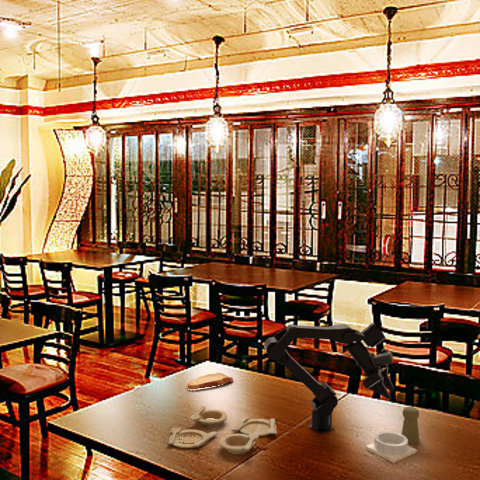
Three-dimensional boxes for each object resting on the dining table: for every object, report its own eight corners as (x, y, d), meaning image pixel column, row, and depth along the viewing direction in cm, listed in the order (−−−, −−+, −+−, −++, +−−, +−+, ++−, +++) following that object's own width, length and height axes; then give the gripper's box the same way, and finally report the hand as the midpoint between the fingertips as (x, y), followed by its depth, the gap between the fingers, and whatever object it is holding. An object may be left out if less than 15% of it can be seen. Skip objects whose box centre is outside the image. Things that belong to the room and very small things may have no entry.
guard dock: (393, 462, 169) (393, 449, 169) (365, 448, 178) (365, 436, 178) (416, 452, 176) (416, 440, 175) (388, 439, 184) (388, 428, 184)
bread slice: (184, 391, 230) (184, 382, 230) (195, 377, 248) (195, 368, 248) (227, 393, 228) (227, 384, 227) (234, 379, 245) (234, 370, 245)
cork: (420, 445, 181) (421, 412, 180) (401, 443, 182) (402, 411, 181) (418, 437, 186) (419, 405, 185) (399, 435, 188) (400, 404, 187)
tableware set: (285, 425, 197) (285, 414, 197) (260, 463, 170) (260, 451, 169) (193, 412, 208) (193, 402, 208) (157, 446, 181) (157, 434, 181)
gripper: (376, 349, 180) (408, 389, 177) (384, 337, 198) (413, 373, 195) (350, 368, 184) (380, 408, 181) (359, 354, 201) (387, 390, 198)
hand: (391, 394), depth 189 cm, fingers open, 9 cm apart
